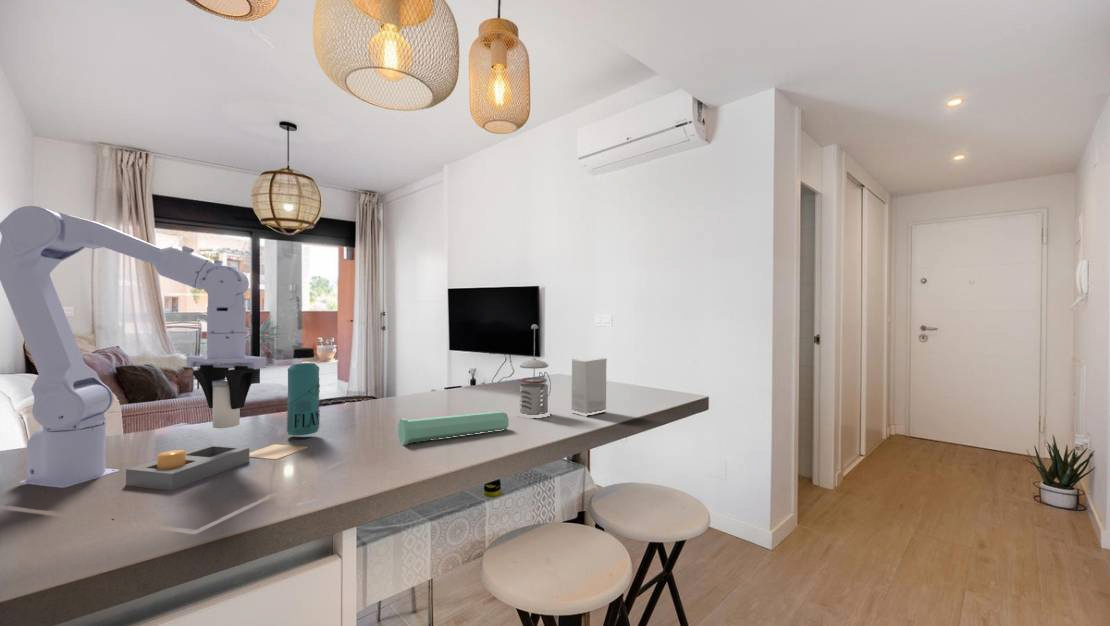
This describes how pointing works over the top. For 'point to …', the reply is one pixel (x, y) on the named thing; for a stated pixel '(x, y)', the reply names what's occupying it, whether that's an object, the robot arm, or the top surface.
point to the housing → (188, 467)
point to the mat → (275, 451)
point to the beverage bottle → (303, 395)
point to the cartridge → (223, 406)
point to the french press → (534, 388)
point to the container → (450, 426)
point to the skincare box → (588, 384)
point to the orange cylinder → (171, 459)
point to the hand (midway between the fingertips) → (226, 407)
